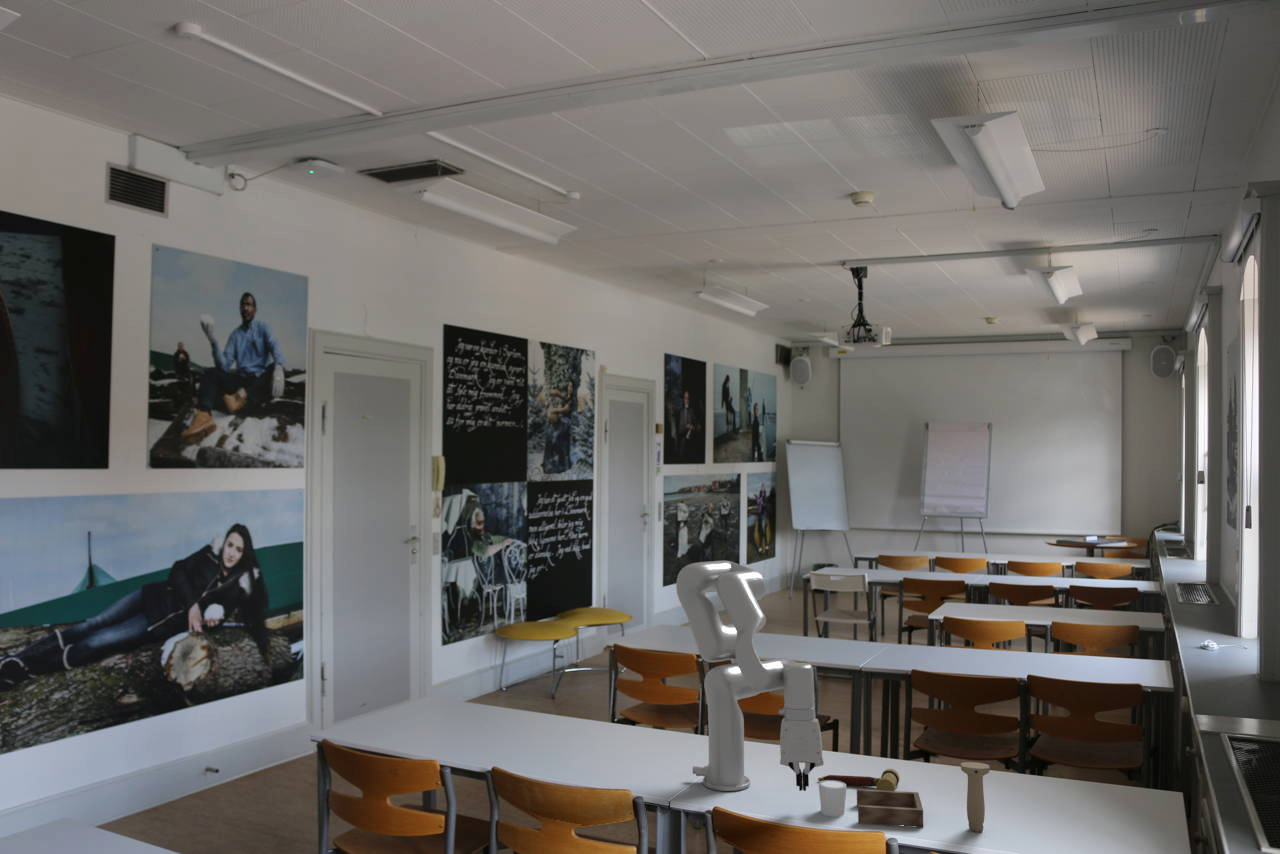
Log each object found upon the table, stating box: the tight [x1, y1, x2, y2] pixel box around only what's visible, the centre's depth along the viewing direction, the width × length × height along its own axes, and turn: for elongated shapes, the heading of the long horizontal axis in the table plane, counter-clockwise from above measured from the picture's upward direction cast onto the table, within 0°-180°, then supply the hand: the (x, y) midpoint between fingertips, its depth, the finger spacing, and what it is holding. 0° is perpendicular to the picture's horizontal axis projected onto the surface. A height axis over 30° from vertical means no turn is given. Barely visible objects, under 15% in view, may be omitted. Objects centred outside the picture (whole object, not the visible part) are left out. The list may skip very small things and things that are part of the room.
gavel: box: [817, 768, 900, 791], centre depth 266 cm, size 21×5×10 cm
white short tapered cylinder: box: [818, 780, 847, 817], centre depth 246 cm, size 7×7×7 cm
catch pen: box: [856, 788, 924, 828], centre depth 244 cm, size 15×13×4 cm
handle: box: [960, 761, 991, 833], centre depth 234 cm, size 5×6×15 cm
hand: (802, 789), depth 247 cm, fingers closed
